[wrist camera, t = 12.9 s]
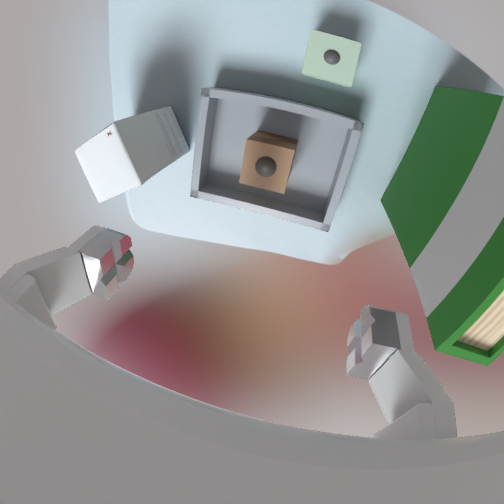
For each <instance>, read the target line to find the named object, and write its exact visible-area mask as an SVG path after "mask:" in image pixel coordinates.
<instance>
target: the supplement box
mask: <svg viewBox="0 0 504 504" xmlns="http://www.w3.org/2000/svg"><path fill="white" fill-rule="evenodd" d="M189 151H190V150H189V147H188V145H187V143H186V140H185V138H184V135H183V133H182V131H181V128H180V126H179V124H178V121H177V119H176V116H175V114H174V112H173V109H172V107H171V106H168V107H164V108H160V109H156V110H152V111H149V112H145V113H141V114H138V115H135V116H131V117H128V118H125V119H122V120H118V121H115V122H113V123H112V124H110V125H109V126H107V127H106V128H105V129H103V130H102V131H100V132H99V133H98V134H96V135H95V136H94V137H92V138H91V139H90V140H88V141H87V142H86V143H84V144H83V145H82V146H80V147H79V148H78V149H76V150H75V154H76V156H77V158H78V160H79V162H80V164H81V167H82V169H83V171H84V173H85V175H86V178H87V180H88V182H89V184H90V186H91V188H92V190H93V192H94V194H95V196H96V198H97V200H98V202H99V203H101V202H103V201H105V200H107V199H109V198H112V197H114V196H116V195H119V194H121V193H124V192H126V191H129V190H131V189H134V188H136V187H139V186H141V185H143V184H144V183H145V182H146V181H147V180H148V179H150V178H151V177H152V176H154V175H155V174H157V173H158V172H160V171H161V170H163V169H164V168H166V167H167V166H168V165H170V164H171V163H173V162H174V161H176V160H177V159H179V158H180V157H182V156H183V155H185V154H186V153H188V152H189Z"/></svg>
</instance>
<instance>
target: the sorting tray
mask: <svg viewBox="0 0 504 504" xmlns="http://www.w3.org/2000/svg"><path fill="white" fill-rule="evenodd" d="M362 128H363V123H362V122H361V121H359V120H358V119H355V118H352V117H349V116H346V115H342V114H339V113H336V112H333V111H329V110H326V109H322V108H318V107H315V106H311V105H307V104H303V103H299V102H295V101H291V100H286V99H282V98H277V97H272V96H267V95H262V94H256V93H250V92H244V91H238V90H231V89H224V88H216V87H211V88H202V94H201V101H200V108H199V116H198V124H197V132H196V141H195V150H194V160H193V171H192V182H191V195H190V196H191V197H195V198H199V199H204V200H208V201H212V202H216V203H220V204H224V205H228V206H232V207H236V208H240V209H244V210H248V211H252V212H256V213H260V214H264V215H268V216H272V217H275V218H279V219H283V220H287V221H290V222H294V223H298V224H301V225H305V226H308V227H312V228H315V229H319V230H323V231H326V232H328V231H329V229H330V226H331V223H332V220H333V218H334V215H335V212H336V209H337V206H338V203H339V200H340V198H341V195H342V192H343V189H344V186H345V183H346V180H347V177H348V174H349V170H350V167H351V164H352V161H353V158H354V155H355V151H356V148H357V145H358V142H359V138H360V135H361V131H362ZM257 130H260V131H264V132H269V133H273V134H278V135H282V136H286V137H290V138H294V139H298V143H297V147H296V151H295V155H294V159H293V163H292V167H291V171H290V175H289V179H288V182H287V186H286V189H285V193H284V194H281V193H278V192H274V191H270V190H266V189H262V188H258V187H254V186H250V185H246V184H241V183H239V179H240V174H241V168H242V162H243V156H244V150H245V145H246V139H247V138H249V137H250V136H251V135H252V134H254V133H255V132H256V131H257Z"/></svg>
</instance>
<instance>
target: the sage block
mask: <svg viewBox="0 0 504 504" xmlns="http://www.w3.org/2000/svg"><path fill="white" fill-rule="evenodd" d="M361 44H362V43H359V42H356V41H353V40H349V39H346V38H343V37H339V36H335V35H332V34H328V33H324V32H320V31H316V30H311V32H310V37H309V41H308V46H307V51H306V55H305V60H304V64H303V69H302V74H303V75H304V76H307V77H311V78H315V79H319V80H323V81H326V82H330V83H333V84H337V85H340V86H343V87H352V83H353V78H354V74H355V70H356V66H357V62H358V57H359V53H360V48H361Z"/></svg>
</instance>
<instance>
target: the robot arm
mask: <svg viewBox="0 0 504 504" xmlns="http://www.w3.org/2000/svg"><path fill="white" fill-rule="evenodd" d="M131 246H132V242H131V238H130V237H129V236H128V235H125V234H123V233H120V232H117V231H114V230H111V229H108V228H105V227H102V226H99V225H95V226H93V227H91V228H90V229H89V230H88V231H87V232H86V233H84V234H83V235H82V236H81V237H79V238H78V239H77V240H76V241H75V242H74V243H73V244H71V245H70V246H69V247H68V248H67V247H63V248H60V249H56V250H54V251H50V252H48V253H45V254H42V255H39V256H36V257H33V258H30V259H28V260H25V261H22V262H19V263H17V264H14V266H13V267H11V268H10V269H9V270H8V271H7V272H6V273H5V274H4V275H3V276H2V277H1V278H0V504H504V431H502V432H496V433H490V434H483V435H476V436H467V437H457V428H456V418H455V410H454V403H453V402H452V401H451V399H450V397H449V396H448V394H447V393H446V392H445V390H444V389H443V387H442V386H441V384H440V383H439V381H438V380H437V378H436V377H435V376H434V374H433V373H432V371H431V370H430V369H429V367H428V366H427V364H426V363H425V362H424V360H423V359H422V358H421V356H420V355H419V353H415V350H414V345H413V339H412V334H411V329H410V324H409V319H408V316H407V314H405V313H400V312H396V311H390V310H387V309H382V308H378V307H375V306H371V305H366V306H364V307H363V309H362V311H361V313H360V317H361V319H359V320H357V321H355V322H354V323H353V325H352V327H351V329H350V332H349V335H348V340H347V349H348V350H349V352H350V355H349V356H348V357H347V363H346V366H347V367H346V375H347V376H352V377H357V378H362V379H366V380H369V381H368V382H369V384H370V386H371V388H372V390H373V392H374V395H375V397H376V399H377V401H378V403H379V405H380V408H381V410H382V412H383V414H384V416H385V419H386V421H387V423H388V425H387V426H385V427H384V428H382V429H381V430H379V431H378V432H376V433H375V434H374V438H371V437H359V436H350V435H341V434H333V433H326V432H320V431H314V430H308V429H303V428H297V427H292V426H287V425H283V424H278V423H274V422H270V421H266V420H261V419H258V418H254V417H250V416H246V415H243V414H239V413H236V412H232V411H229V410H226V409H222V408H219V407H216V406H213V405H210V404H207V403H204V402H201V401H199V400H196V399H193V398H190V397H187V396H185V395H182V394H179V393H177V392H175V391H172V390H170V389H167V388H165V387H162V386H160V385H157V384H155V383H153V382H150V381H148V380H146V379H144V378H142V377H139V376H137V375H135V374H133V373H131V372H129V371H127V370H124V369H123V368H121V367H119V366H117V365H115V364H113V363H111V362H109V361H107V360H105V359H103V358H101V357H99V356H97V355H96V354H94V353H92V352H90V351H89V350H87V349H85V348H83V347H82V346H80V345H78V344H77V343H75V342H73V341H72V340H70V339H68V338H67V337H65V336H63V335H62V334H60V333H59V332H57V331H56V330H55V329H56V327H57V326H56V322H55V321H54V319H53V317H52V315H53V314H55V313H57V312H59V311H60V310H62V309H64V308H66V307H68V306H70V305H72V304H73V303H75V302H77V301H79V300H81V299H83V298H84V297H87V296H88V295H90V294H91V292H92V293H94V294H96V295H99V296H101V297H103V298H106V299H108V300H110V299H111V298H112V296H113V295H114V294H115V293H116V292H117V290H118V289H119V283H120V282H122V281H125V280H127V278H128V277H129V276H130V274H131V272H132V269H133V265H134V258H133V255H132V253H131V251H130V250H129V249H130V248H131Z"/></svg>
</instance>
